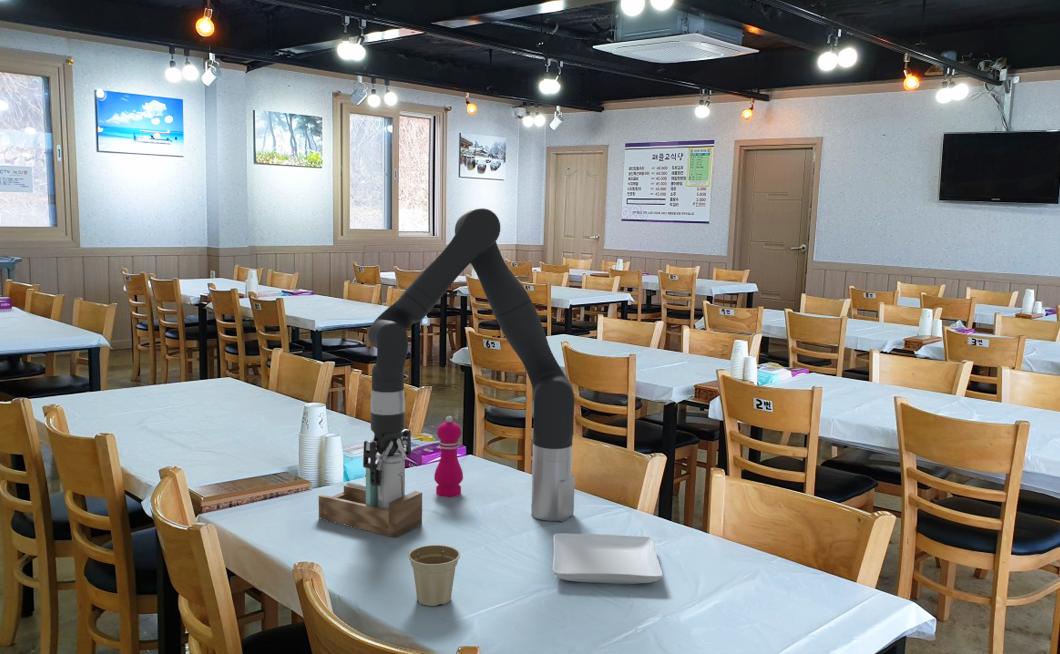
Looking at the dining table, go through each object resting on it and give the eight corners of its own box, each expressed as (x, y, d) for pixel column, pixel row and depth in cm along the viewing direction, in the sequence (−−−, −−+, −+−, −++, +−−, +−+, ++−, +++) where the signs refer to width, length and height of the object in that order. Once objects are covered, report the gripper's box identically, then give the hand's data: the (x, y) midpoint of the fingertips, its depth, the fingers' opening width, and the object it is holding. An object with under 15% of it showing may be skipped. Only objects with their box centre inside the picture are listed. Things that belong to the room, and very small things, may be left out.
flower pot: (409, 588, 161) (409, 544, 160) (459, 587, 162) (460, 543, 161) (406, 611, 152) (406, 565, 150) (459, 610, 152) (460, 564, 151)
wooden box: (422, 524, 194) (422, 492, 193) (396, 537, 186) (396, 504, 185) (346, 506, 204) (346, 476, 203) (318, 518, 196) (318, 487, 195)
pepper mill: (458, 499, 212) (459, 420, 209) (430, 496, 213) (430, 418, 210) (466, 490, 219) (467, 413, 216) (439, 487, 220) (439, 411, 217)
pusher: (389, 511, 196) (389, 461, 195) (370, 520, 190) (370, 468, 189) (358, 504, 201) (358, 454, 199) (338, 513, 195) (337, 462, 193)
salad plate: (552, 546, 184) (553, 531, 183) (651, 549, 183) (652, 534, 183) (551, 589, 163) (552, 571, 162) (663, 593, 162) (664, 576, 162)
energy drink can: (402, 525, 189) (402, 459, 187) (375, 524, 189) (375, 458, 187) (406, 515, 195) (406, 451, 193) (380, 514, 195) (380, 451, 193)
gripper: (381, 418, 181) (381, 492, 183) (420, 405, 194) (420, 475, 196) (353, 413, 185) (353, 486, 187) (394, 401, 197) (393, 469, 199)
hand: (387, 480), depth 191 cm, fingers open, 8 cm apart
